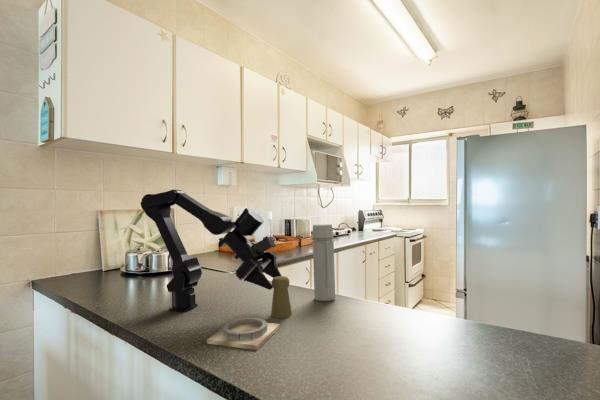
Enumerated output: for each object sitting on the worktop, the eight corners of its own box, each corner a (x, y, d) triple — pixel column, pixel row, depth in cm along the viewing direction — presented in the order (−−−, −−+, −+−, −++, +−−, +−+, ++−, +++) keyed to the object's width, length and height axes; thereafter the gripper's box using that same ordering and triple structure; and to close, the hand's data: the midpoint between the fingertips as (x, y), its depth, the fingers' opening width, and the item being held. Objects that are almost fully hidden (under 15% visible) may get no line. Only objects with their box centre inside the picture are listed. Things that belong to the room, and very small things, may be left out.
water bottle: (310, 297, 107) (308, 224, 108) (332, 295, 109) (329, 223, 110) (318, 305, 98) (316, 226, 99) (342, 302, 100) (339, 225, 101)
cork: (289, 318, 87) (287, 279, 87) (268, 317, 88) (267, 278, 88) (293, 311, 93) (292, 274, 93) (274, 310, 94) (273, 274, 94)
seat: (206, 343, 72) (206, 332, 72) (235, 323, 85) (235, 314, 85) (257, 350, 68) (256, 338, 68) (280, 327, 80) (279, 318, 80)
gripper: (244, 230, 84) (284, 271, 81) (269, 225, 102) (303, 259, 99) (219, 259, 86) (257, 301, 83) (248, 249, 104) (281, 284, 101)
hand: (277, 284), depth 91 cm, fingers open, 9 cm apart
